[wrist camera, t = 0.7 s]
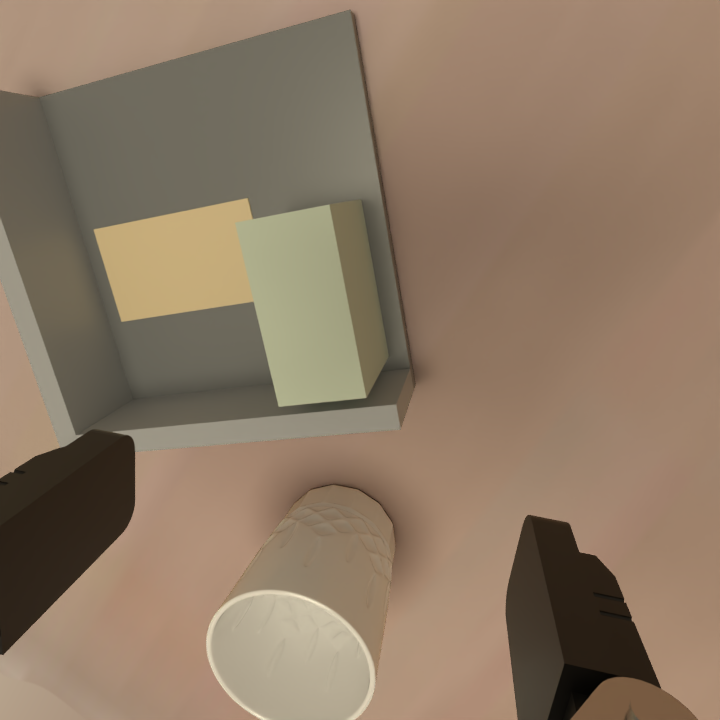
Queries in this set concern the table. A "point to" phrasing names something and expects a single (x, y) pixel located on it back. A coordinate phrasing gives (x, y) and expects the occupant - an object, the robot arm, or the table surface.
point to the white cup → (309, 612)
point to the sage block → (316, 302)
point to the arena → (187, 237)
